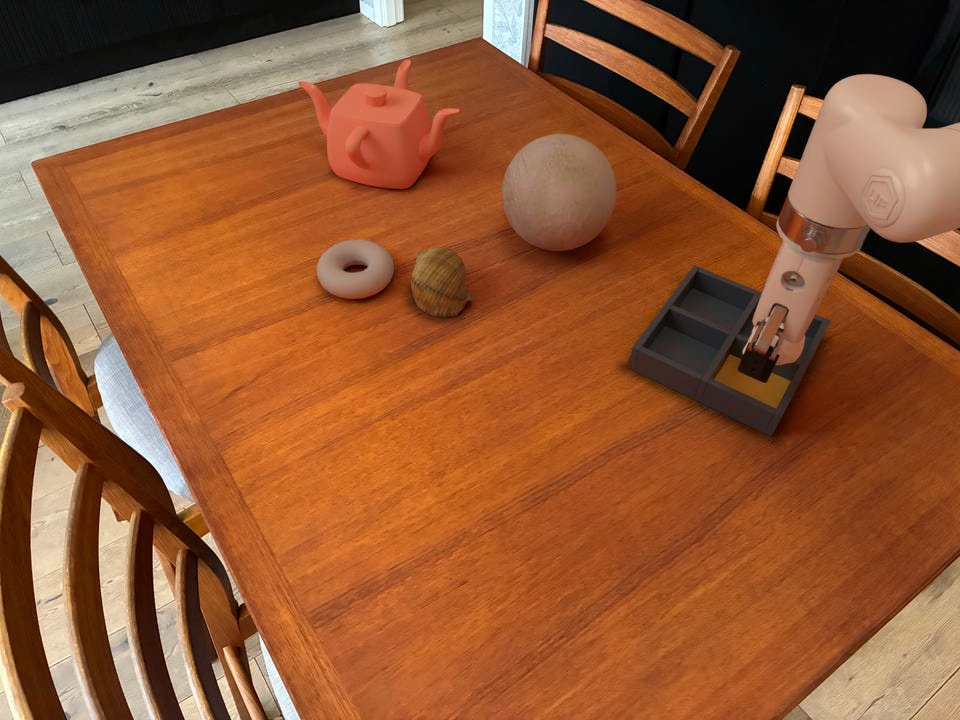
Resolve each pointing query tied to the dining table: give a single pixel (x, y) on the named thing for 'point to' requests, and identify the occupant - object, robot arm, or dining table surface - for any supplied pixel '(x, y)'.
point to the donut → (356, 282)
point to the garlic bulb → (784, 348)
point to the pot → (379, 132)
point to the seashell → (439, 282)
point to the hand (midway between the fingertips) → (764, 353)
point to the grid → (718, 351)
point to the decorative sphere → (559, 192)
